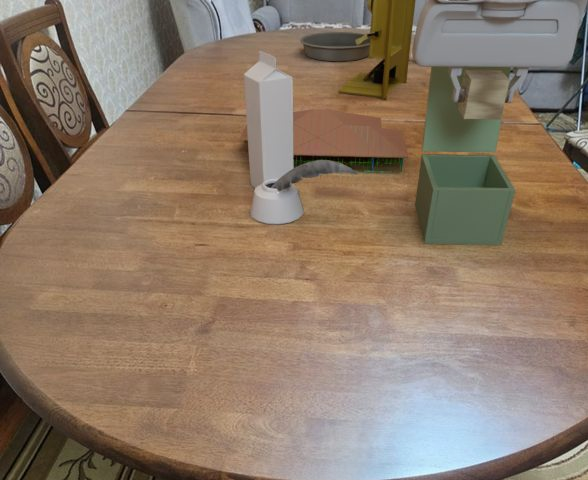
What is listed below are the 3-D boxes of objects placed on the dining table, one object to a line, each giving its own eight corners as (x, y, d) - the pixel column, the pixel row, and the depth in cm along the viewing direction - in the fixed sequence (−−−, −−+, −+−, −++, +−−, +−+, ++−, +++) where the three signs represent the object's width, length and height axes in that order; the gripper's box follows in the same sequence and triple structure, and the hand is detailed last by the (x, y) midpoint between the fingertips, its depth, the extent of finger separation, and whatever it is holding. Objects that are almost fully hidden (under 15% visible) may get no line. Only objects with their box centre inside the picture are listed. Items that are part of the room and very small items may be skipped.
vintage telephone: (368, 71, 163) (377, -53, 144) (414, 76, 158) (429, -52, 139) (328, 100, 142) (332, -42, 122) (379, 106, 137) (392, -41, 118)
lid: (514, 49, 80) (512, 49, 80) (434, 49, 80) (433, 49, 81) (495, 152, 87) (494, 151, 88) (422, 151, 88) (421, 150, 88)
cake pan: (368, 45, 191) (369, 30, 188) (380, 62, 172) (381, 46, 169) (298, 46, 190) (297, 32, 187) (302, 63, 171) (302, 47, 168)
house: (253, 130, 124) (251, 92, 119) (400, 133, 121) (404, 94, 116) (235, 169, 107) (232, 126, 101) (406, 174, 104) (411, 130, 99)
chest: (501, 245, 83) (515, 190, 77) (424, 243, 84) (433, 189, 78) (483, 206, 93) (494, 154, 88) (414, 204, 94) (421, 153, 88)
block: (492, 108, 78) (501, 70, 75) (500, 119, 74) (510, 79, 71) (457, 108, 79) (464, 70, 75) (463, 119, 75) (471, 79, 72)
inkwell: (259, 198, 97) (256, 141, 90) (360, 209, 93) (364, 151, 86) (241, 221, 90) (237, 161, 83) (349, 235, 86) (352, 173, 79)
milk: (264, 197, 97) (257, 60, 83) (250, 185, 101) (241, 52, 87) (294, 190, 99) (292, 55, 85) (279, 178, 103) (275, 47, 89)
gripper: (583, -22, 68) (550, 95, 77) (419, -22, 69) (405, 94, 78) (602, -15, 64) (565, 109, 73) (425, -16, 65) (409, 107, 74)
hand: (480, 101), depth 75 cm, fingers closed on block, 5 cm apart
